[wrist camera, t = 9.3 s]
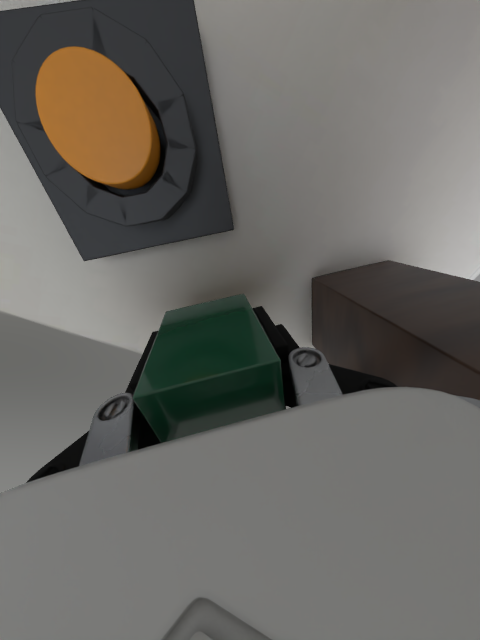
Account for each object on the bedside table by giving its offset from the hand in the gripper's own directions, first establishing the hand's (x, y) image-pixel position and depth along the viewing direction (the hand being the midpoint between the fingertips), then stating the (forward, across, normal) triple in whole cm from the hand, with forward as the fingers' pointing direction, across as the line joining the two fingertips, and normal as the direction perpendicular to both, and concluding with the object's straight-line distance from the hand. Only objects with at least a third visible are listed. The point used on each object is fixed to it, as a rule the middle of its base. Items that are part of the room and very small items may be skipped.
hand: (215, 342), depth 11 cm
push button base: (+6, +2, -10) cm, 12 cm away
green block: (+1, 0, 0) cm, 1 cm away
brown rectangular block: (+6, -12, +3) cm, 14 cm away
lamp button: (+2, +2, -10) cm, 10 cm away
